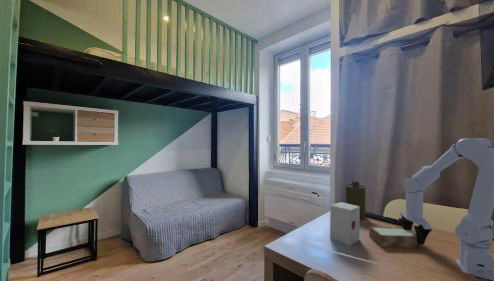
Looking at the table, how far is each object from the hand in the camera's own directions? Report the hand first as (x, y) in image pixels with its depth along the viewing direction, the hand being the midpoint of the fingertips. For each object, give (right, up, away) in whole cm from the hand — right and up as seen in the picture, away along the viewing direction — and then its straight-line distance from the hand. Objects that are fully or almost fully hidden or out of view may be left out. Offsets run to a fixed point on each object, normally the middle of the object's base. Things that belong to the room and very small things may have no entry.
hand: (414, 239), depth 91 cm
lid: (-7, -1, 0) cm, 7 cm away
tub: (-9, -2, 0) cm, 9 cm away
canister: (-8, -2, +33) cm, 34 cm away
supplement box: (-28, -2, +3) cm, 28 cm away
